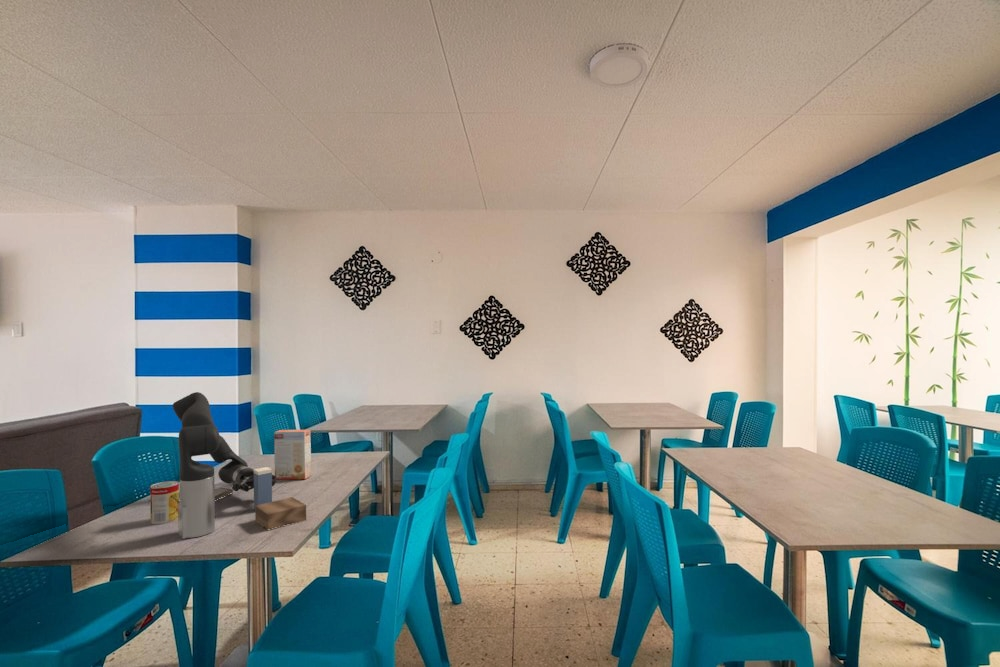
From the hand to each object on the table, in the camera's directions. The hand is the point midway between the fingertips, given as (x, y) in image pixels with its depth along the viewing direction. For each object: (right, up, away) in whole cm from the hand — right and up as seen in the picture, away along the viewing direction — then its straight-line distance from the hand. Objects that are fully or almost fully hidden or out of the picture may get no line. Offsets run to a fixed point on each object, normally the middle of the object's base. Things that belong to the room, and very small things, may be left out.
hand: (260, 486), depth 173 cm
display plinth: (+14, -7, -14) cm, 21 cm away
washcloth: (-26, -9, +9) cm, 29 cm away
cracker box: (-4, -9, +37) cm, 38 cm away
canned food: (-27, -8, -11) cm, 30 cm away
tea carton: (+2, -7, -2) cm, 8 cm away
